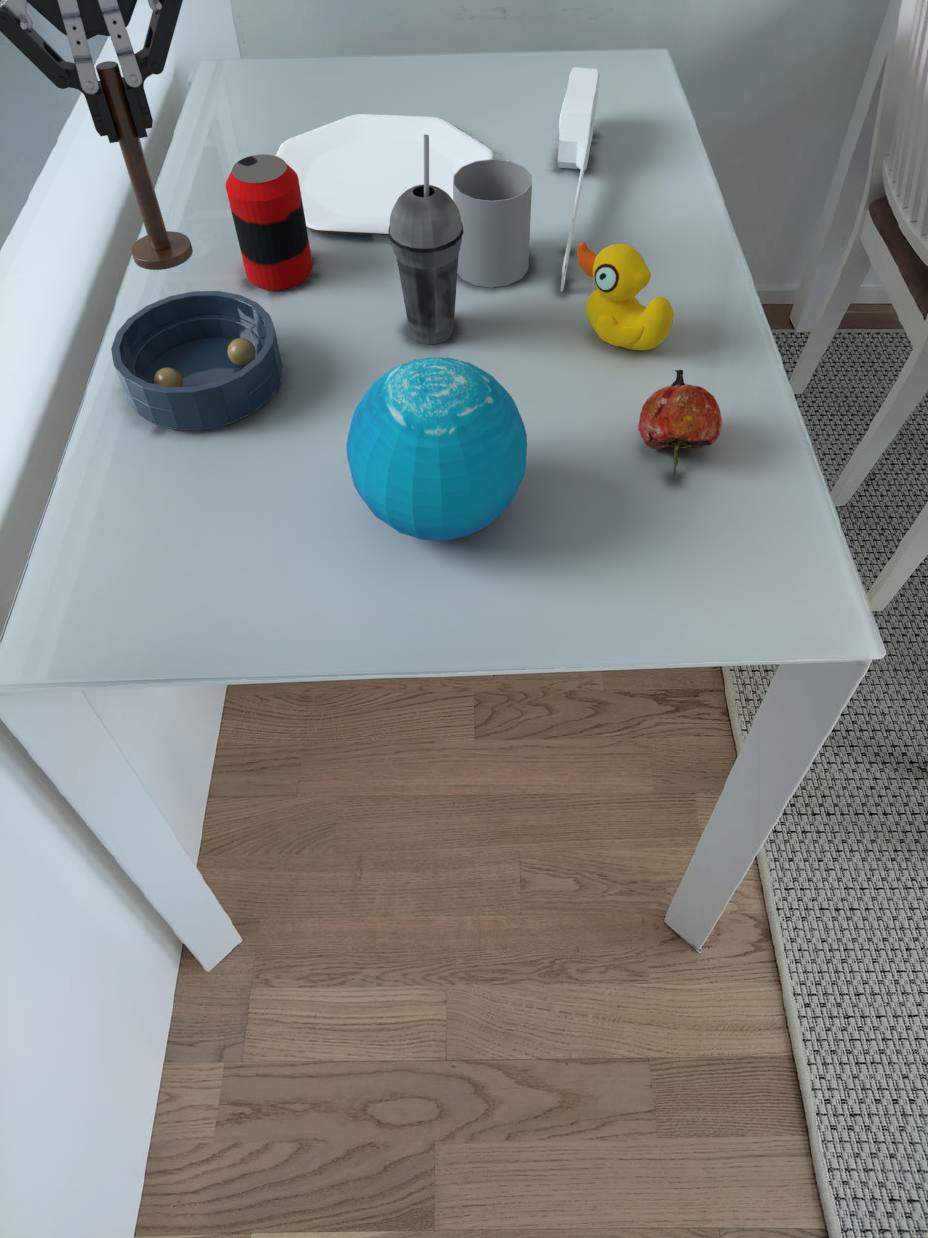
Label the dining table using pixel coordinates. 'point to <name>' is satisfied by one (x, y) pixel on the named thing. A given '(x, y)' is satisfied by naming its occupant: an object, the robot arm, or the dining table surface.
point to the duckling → (623, 298)
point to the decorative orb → (437, 448)
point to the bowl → (197, 359)
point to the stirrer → (141, 181)
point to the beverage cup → (427, 256)
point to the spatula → (577, 133)
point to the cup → (493, 221)
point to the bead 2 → (241, 352)
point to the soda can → (269, 222)
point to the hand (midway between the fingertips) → (127, 134)
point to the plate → (373, 167)
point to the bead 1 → (168, 378)
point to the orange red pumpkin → (680, 418)
